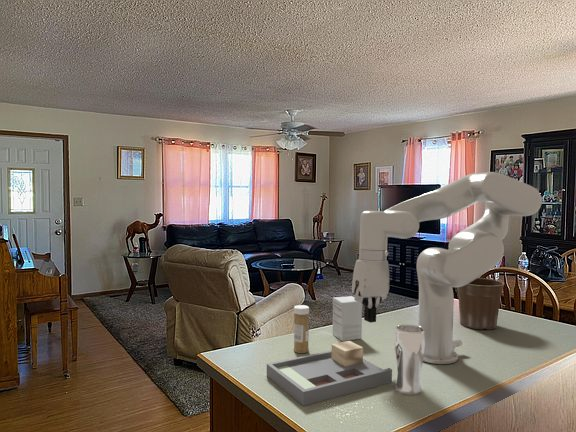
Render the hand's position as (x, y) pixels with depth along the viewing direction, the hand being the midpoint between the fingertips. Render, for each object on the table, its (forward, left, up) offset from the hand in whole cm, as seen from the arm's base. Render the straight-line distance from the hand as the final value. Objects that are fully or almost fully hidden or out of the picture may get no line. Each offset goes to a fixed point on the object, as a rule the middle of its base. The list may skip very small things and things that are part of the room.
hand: (369, 320), depth 120 cm
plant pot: (-58, -8, -12) cm, 59 cm away
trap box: (+16, +4, -12) cm, 20 cm away
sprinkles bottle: (+12, -16, -12) cm, 24 cm away
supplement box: (-8, -20, -12) cm, 25 cm away
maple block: (+8, 0, -10) cm, 12 cm away
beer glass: (+3, +18, -12) cm, 22 cm away
